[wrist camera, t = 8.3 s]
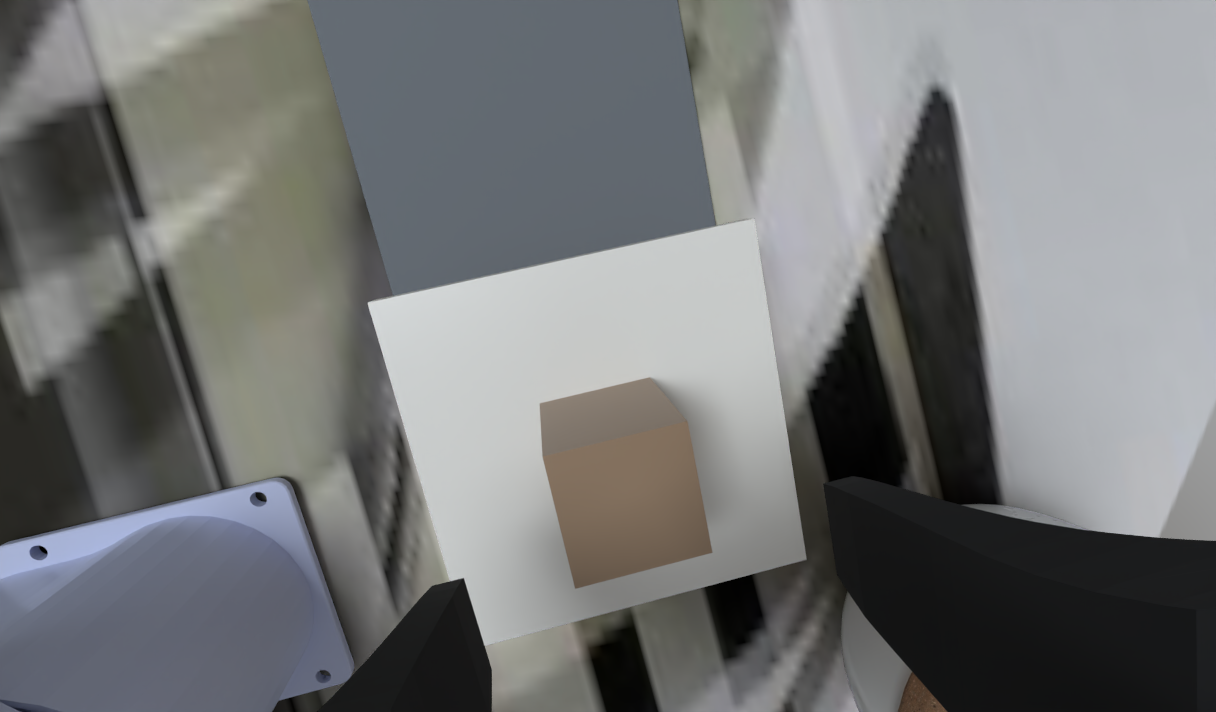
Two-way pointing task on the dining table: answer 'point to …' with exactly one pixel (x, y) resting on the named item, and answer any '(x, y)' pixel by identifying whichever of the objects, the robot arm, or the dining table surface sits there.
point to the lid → (598, 427)
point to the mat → (514, 129)
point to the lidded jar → (875, 673)
